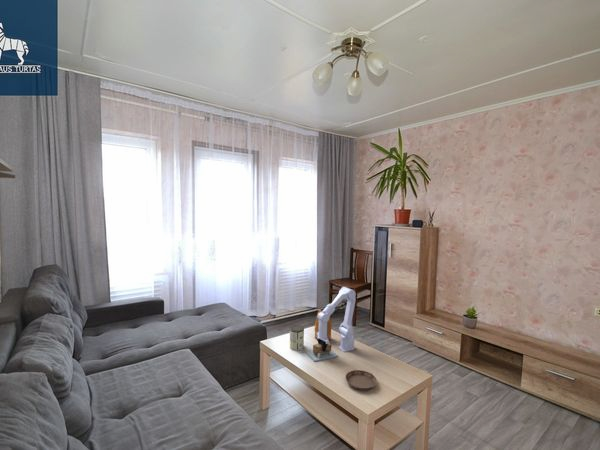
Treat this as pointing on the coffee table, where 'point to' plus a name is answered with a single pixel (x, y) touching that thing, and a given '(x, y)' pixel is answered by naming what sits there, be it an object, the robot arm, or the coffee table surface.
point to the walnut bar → (318, 348)
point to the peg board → (322, 355)
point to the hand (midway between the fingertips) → (322, 349)
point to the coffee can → (296, 337)
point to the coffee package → (327, 326)
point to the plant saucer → (361, 380)
